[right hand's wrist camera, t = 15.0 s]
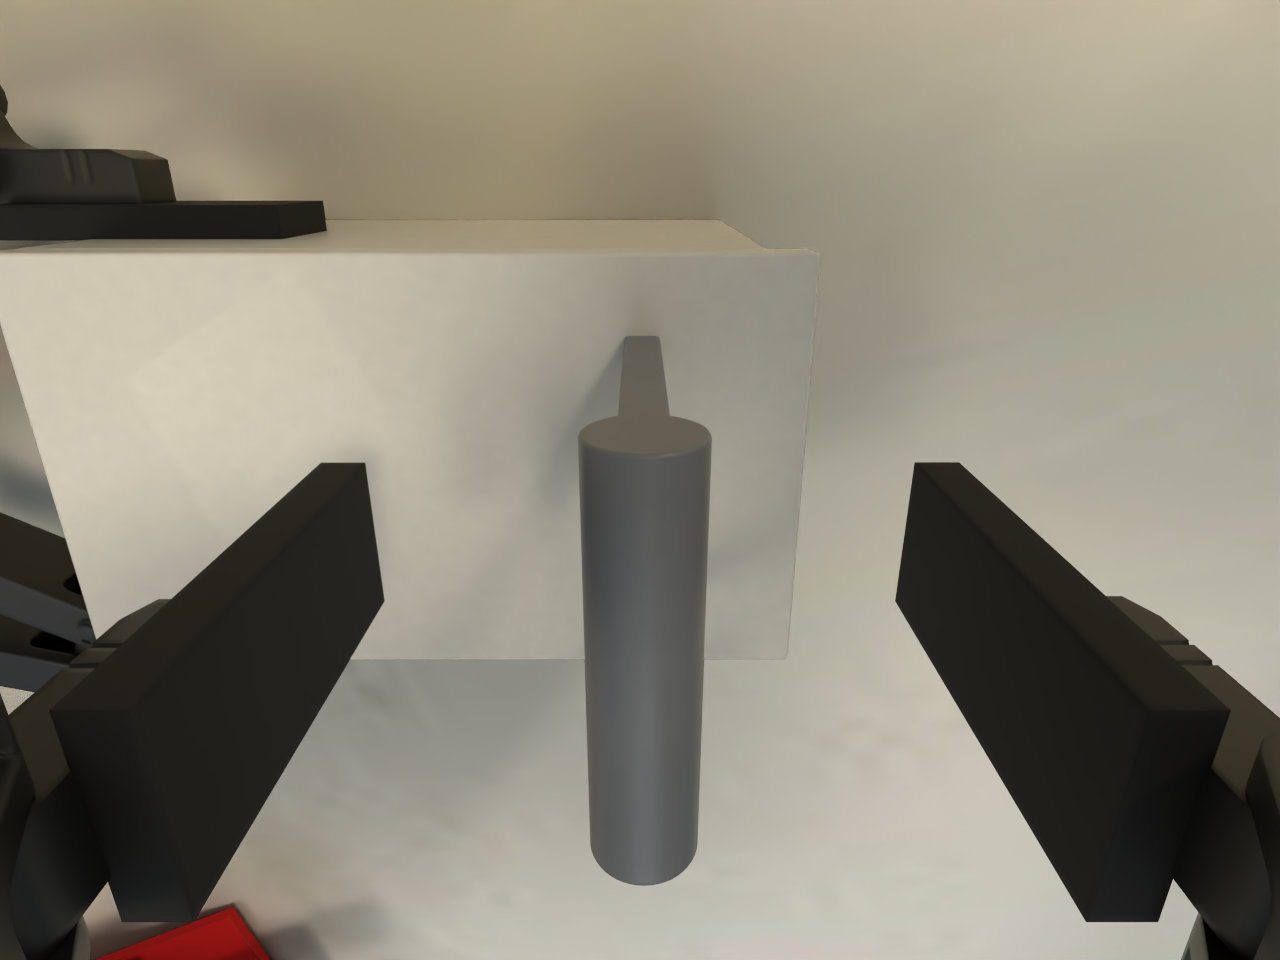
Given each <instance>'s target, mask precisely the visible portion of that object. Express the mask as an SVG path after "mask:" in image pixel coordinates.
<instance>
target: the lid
mask: <svg viewBox="0 0 1280 960" xmlns="http://www.w3.org/2000/svg"><path fill="white" fill-rule="evenodd" d="M820 261H821V256H820V253H817V252H815V251H813V250H811V249H8V250H0V326H1V329H2V333H3V336H4V339H5V342H6V346H7V349H8V352H9V356H10V359H11V362H12V365H13V369H14V372H15V375H16V378H17V382H18V385H19V388H20V392H21V395H22V398H23V401H24V405H25V408H26V411H27V414H28V418H29V421H30V424H31V428H32V431H33V434H34V437H35V441H36V444H37V447H38V450H39V454H40V457H41V460H42V464H43V467H44V470H45V473H46V477H47V480H48V483H49V486H50V490H51V493H52V496H53V500H54V503H55V506H56V509H57V513H58V516H59V519H60V522H61V526H62V529H63V532H64V536H65V539H66V542H67V545H68V549H69V552H70V555H71V558H72V562H73V565H74V568H75V572H76V575H77V578H78V581H79V585H80V588H81V591H82V594H83V598H84V601H85V604H86V608H87V611H88V614H89V617H90V621H91V624H92V627H93V630H94V634H95V637H96V640H97V639H98V638H99V637H100V636H101V635H102V634H104V633H105V632H106V631H107V630H108V629H109V628H110V627H112V626H113V625H114V624H115V623H116V622H117V621H119V620H120V619H122V618H123V617H125V616H127V615H129V614H131V613H133V612H135V611H137V610H139V609H141V608H143V607H144V606H146V605H148V604H150V603H152V602H154V601H156V600H158V599H172V598H173V597H174V596H175V595H176V594H177V593H178V592H179V591H181V590H182V589H183V588H184V587H185V586H186V585H187V584H188V583H189V582H190V581H192V580H193V579H194V578H195V577H196V576H197V575H198V574H199V573H200V572H201V571H202V570H204V569H205V568H206V567H207V566H208V565H209V564H210V563H211V562H212V561H213V560H215V559H216V558H217V557H218V556H219V555H220V554H221V553H222V552H223V551H224V550H226V549H227V548H228V547H229V546H230V545H231V544H232V543H233V542H234V541H235V540H237V539H238V538H239V537H240V536H241V535H242V534H243V533H244V532H245V531H246V530H248V529H249V528H250V527H251V526H252V525H253V524H254V523H255V522H256V521H257V520H258V519H260V518H261V517H262V516H263V515H264V514H265V513H266V512H267V511H268V510H269V509H271V508H272V507H273V506H274V505H275V504H276V503H277V502H278V501H279V500H280V499H282V498H283V497H284V496H285V495H286V494H287V493H288V492H289V491H290V490H291V489H293V488H294V487H295V486H296V485H297V484H298V483H299V482H300V481H301V480H302V479H304V478H305V477H306V476H307V475H308V474H309V473H310V472H311V471H312V470H313V469H314V468H316V467H317V466H318V465H319V464H320V463H365V465H366V472H367V479H368V486H369V493H370V500H371V507H372V514H373V522H374V529H375V536H376V543H377V550H378V557H379V564H380V571H381V579H382V586H383V593H384V600H385V601H384V603H383V605H382V606H381V608H380V610H379V611H378V613H377V615H376V617H375V618H374V620H373V622H372V623H371V625H370V627H369V628H368V630H367V632H366V633H365V635H364V637H363V638H362V640H361V642H360V643H359V645H358V647H357V648H356V650H355V652H354V654H353V655H352V657H351V659H350V660H585V684H586V716H587V748H588V780H589V812H590V843H591V850H592V853H593V856H594V858H595V859H596V861H597V863H598V864H599V865H600V867H601V868H602V869H603V870H604V871H605V872H606V873H608V874H609V875H610V876H612V877H614V878H615V879H617V880H620V881H622V882H625V883H628V884H633V885H644V886H645V885H655V884H660V883H663V882H666V881H669V880H671V879H673V878H675V877H676V876H678V875H679V874H680V873H682V872H683V871H684V870H685V869H686V868H687V867H688V865H689V864H690V863H691V861H692V859H693V857H694V855H695V852H696V849H697V837H698V810H699V782H700V755H701V727H702V700H703V672H704V659H786V658H787V655H788V643H789V631H790V619H791V607H792V595H793V583H794V571H795V559H796V547H797V536H798V524H799V512H800V500H801V488H802V476H803V464H804V452H805V440H806V428H807V416H808V404H809V392H810V380H811V368H812V356H813V344H814V332H815V320H816V308H817V296H818V284H819V272H820Z"/></svg>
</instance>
